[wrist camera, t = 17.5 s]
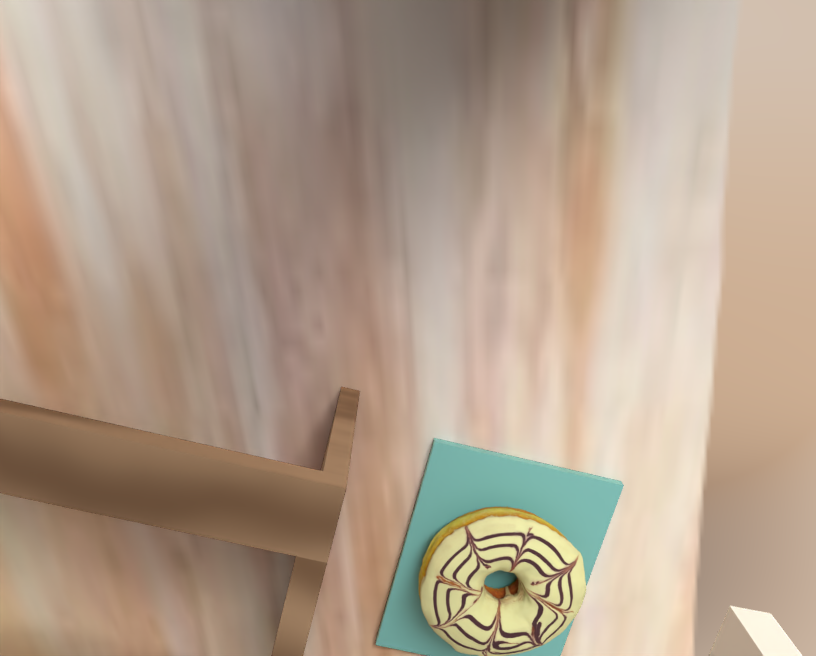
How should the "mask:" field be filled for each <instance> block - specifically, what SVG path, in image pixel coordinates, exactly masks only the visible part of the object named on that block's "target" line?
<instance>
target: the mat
mask: <svg viewBox="0 0 816 656" xmlns="http://www.w3.org/2000/svg"><path fill="white" fill-rule="evenodd" d="M623 486H624V485H623V484H622V482H621V481H618V480H613V479H609V478H605V477H600V476H596V475H592V474H587V473H583V472H579V471H574V470H570V469H566V468H561V467H557V466H553V465H549V464H544V463H540V462H536V461H531V460H527V459H523V458H518V457H514V456H510V455H505V454H501V453H497V452H492V451H488V450H484V449H479V448H475V447H471V446H467V445H462V444H458V443H454V442H449V441H445V440H441V439H436V438H434V440H433V444H432V447H431V451H430V454H429V458H428V461H427V465H426V468H425V471H424V475H423V478H422V482H421V485H420V489H419V492H418V496H417V499H416V503H415V506H414V509H413V513H412V516H411V520H410V523H409V527H408V530H407V534H406V537H405V541H404V544H403V547H402V551H401V554H400V558H399V561H398V565H397V568H396V572H395V575H394V579H393V582H392V585H391V589H390V592H389V596H388V599H387V603H386V606H385V610H384V613H383V617H382V620H381V623H380V627H379V630H378V634H377V637H376V645H378V646H383V647H388V648H393V649H398V650H403V651H408V652H412V653H417V654H422V655H427V656H479V655H469V654H464V653H460V652H457V651H455V649H454V648H453V647H452V646H451V645H450V644H448V643H447V642H446V641H445V640H443V639H442V638H441V637H440V636H439V635H437V634H436V633H435V632H434V631H433V629H432V628H431V627H430V626H429V624H428V622H427V619H426V618H425V616H424V614H423V611H422V608H421V601H420V597H419V572H420V569H421V566H422V560H423V557H424V556H425V554H426V552H427V549H428V547H429V545H430V543H431V541H432V540H433V538H434V537H435V535H436V534H437V533H438V532H439V531H440V530H441V529H442V528H444V527H445V526H446V525H447V524H449V523H450V522H451V521H453V520H454V519H456V518H458V517H460V516H462V515H464V514H466V513H469V512H472V511H475V510H478V509H482V508H486V507H495V506H496V507H500V506H501V507H504V506H505V507H507V506H508V507H511V508H516V509H517V508H518V509H522V510H526V511H528V512H531V513H533V514H535V515H537V516H538V517H540V518H542V519H543V520H545V521H547V522H549V523H550V524H551V525H553V526H554V527H555V528H556V529H557V530H559V532H561V533H562V534H563V535H564V536H565V537H566V539H567V540H568V541H569V542H571V544H572V545H573V546H574V547H575V548H576V549H577V550H578V551H579V552H580V553H581V555H582V558H583V563H584V564H583V565H584V571H585V581H586V585H587V583H588V580H589V577H590V575H591V572H592V569H593V567H594V564H595V561H596V558H597V556H598V553H599V550H600V548H601V545H602V542H603V540H604V537H605V534H606V532H607V529H608V526H609V523H610V521H611V518H612V515H613V513H614V510H615V507H616V505H617V502H618V499H619V497H620V494H621V491H622V489H623ZM516 579H517V576H516V575H515V574H514V573H510V572H506V571H503V570H498V571H495V572H493V573H491V574H489V575H487V576H486V578H485V582H484V584H485V585H486V586H488V587H491V588H494V589H496V588H497V589H500V588H502V587H503V588H504V587H506V586H509V585H511V584H512V583H513V582H515V581H516ZM573 620H574V619H573ZM573 620H572V621H571V623H570V624H569V625H568V626H567V628H566V629H565V630H564V631H563V632H562V633H561V634H560V635H558V636H556V637H555V638H553V639H552V640H551V641H550V642H548V643H546V644H544V645H542V646H540V647H538V648H535V649H533V650H530V651H527V652H523V653H519V654H514V655H505V656H560V655H561V653H562V650H563V647H564V644H565V642H566V639H567V636H568V634H569V631H570V628H571V626H572V623H573Z"/></svg>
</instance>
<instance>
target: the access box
mask: <svg viewBox="0 0 816 656" xmlns="http://www.w3.org/2000/svg"><path fill="white" fill-rule="evenodd" d="M359 392H360V391H358V390H353V389H349V388H345V387H341V391H340V395H339V399H338V403H337V407H336V411H335V415H334V419H333V423H332V427H331V431H330V435H329V439H328V443H327V447H326V451H325V455H324V459H323V463H322V467H321V471H320V470H315V469H311V468H307V467H302V466H298V465H293V464H289V463H284V462H280V461H275V460H271V459H266V458H262V457H258V456H253V455H249V454H244V453H240V452H235V451H231V450H226V449H222V448H217V447H213V446H209V445H204V444H200V443H195V442H191V441H186V440H182V439H177V438H173V437H168V436H164V435H160V434H155V433H151V432H146V431H142V430H137V429H133V428H128V427H124V426H119V425H115V424H111V423H106V422H102V421H97V420H93V419H88V418H84V417H79V416H75V415H70V414H66V413H62V412H57V411H53V410H48V409H44V408H39V407H35V406H30V405H26V404H21V403H17V402H13V401H8V400H4V399H0V493H2V494H6V495H11V496H16V497H20V498H25V499H30V500H34V501H39V502H44V503H48V504H53V505H58V506H63V507H67V508H72V509H77V510H81V511H86V512H91V513H95V514H100V515H105V516H109V517H114V518H119V519H123V520H128V521H133V522H138V523H142V524H147V525H152V526H156V527H161V528H166V529H170V530H175V531H180V532H184V533H189V534H194V535H199V536H203V537H208V538H213V539H217V540H222V541H227V542H231V543H236V544H241V545H245V546H250V547H255V548H259V549H264V550H269V551H274V552H278V553H283V554H288V555H292V556H296V558H295V562H294V566H293V570H292V574H291V578H290V582H289V586H288V590H287V594H286V598H285V603H284V607H283V611H282V615H281V619H280V623H279V627H278V631H277V635H276V639H275V643H274V647H273V651H272V655H271V656H303V653H304V649H305V646H306V642H307V638H308V634H309V630H310V626H311V622H312V619H313V615H314V611H315V607H316V603H317V599H318V596H319V592H320V588H321V584H322V580H323V576H324V572H325V569H326V565H327V561H328V557H329V553H330V549H331V545H332V542H333V538H334V534H335V530H336V526H337V522H338V519H339V515H340V511H341V507H342V503H343V499H344V495H345V492H346V487H347V479H348V472H349V465H350V458H351V450H352V443H353V436H354V429H355V421H356V414H357V407H358V400H359Z"/></svg>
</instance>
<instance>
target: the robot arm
mask: <svg viewBox="0 0 816 656" xmlns="http://www.w3.org/2000/svg"><path fill="white" fill-rule="evenodd" d="M709 656H802V655H801V653H800V652H799V651H798V649H797V648H796V647H795V645H794V644H793V643H792V641H791V640H790V639H789V637H788V636H787V635H786V633H785V632H784V630H783V629H782V628H781V627H780V625H779V624H778V622H777V621H776V620H775V618H773V616H772V615H771V613H766V612H760V611H755V610H750V609H744V608H739V607H733V606H729V609H728V611H727V614H726V616H725V619H724V621H723V623H722V625H721V628H720V630H719V632H718V635H717V637H716V640H715V642H714V644H713V646H712V649H711V651H710V654H709Z"/></svg>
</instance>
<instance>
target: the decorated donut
mask: <svg viewBox="0 0 816 656" xmlns="http://www.w3.org/2000/svg"><path fill="white" fill-rule="evenodd" d="M583 564H584V563H583V558H582V555H581V553H580V552H579V551H578V550H577V549H576V548H575V547H574V546H573V545H572V544H571V542H569V541H568V540H567V539H566V537H565V536H564V535H563V534H562V533H561V532H559V530H557V529H556V528H555V527H554V526H553V525H551V524H550V523H549V522H547V521H545V520H543V519H542V518H540V517H538V516H537V515H535V514H533V513H531V512H528V511H526V510H522V509H518V508H517V509H516V508H511V507H508V506H507V507H505V506H504V507H501V506H500V507H496V506H495V507H486V508H482V509H478V510H475V511H472V512H469V513H466V514H464V515H462V516H460V517H458V518H456V519H454V520H453V521H451V522H450V523H449V524H447V525H446V526H445V527H444V528H442V529H441V530H440V531H439V532H438V533H437V534H436V535H435V537H434V538H433V540H432V541H431V543H430V545H429V547H428V549H427V552H426V554H425V556H424V557H423V560H422V566H421V569H420V572H419V597H420V601H421V608H422V611H423V614H424V616H425V618H426V619H427V622H428V624H429V626H430V627H431V628H432V629H433V631H434V632H435V633H436V634H437V635H439V636H440V637H441V638H442V639H443V640H445V641H446V642H447V643H448V644H450V645H451V646H452V647H453V648H454V649H455V651H457V652H460V653H464V654H469V655H479V656H505V655H514V654H519V653H523V652H527V651H530V650H533V649H535V648H538V647H540V646H542V645H544V644H546V643H548V642H550V641H551V640H552V639H553V638H555V637H556V636H558V635H560V634H561V633H562V632H563V631H564V630H565V629H566V628H567V626H568V625H569V624H570V623H571V621H572V620H573V619H574V618H575V617H576V615H577V613H578V611H579V609H580V607H581V605H582V602H583V599H584V596H585V593H586V581H585V571H584V565H583ZM498 570H503V571H506V572H510V573H514V574H515V575H516V576H517V579H516V581H515V582H513V583H512V584H511V585H509V586H506V587H504V588H503V587H502V588H500V589H497V588H496V589H494V588H491V587H488V586H486V585H485V584H484V582H485V578H486V576H487V575H489V574H491V573H493V572H495V571H498Z"/></svg>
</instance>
